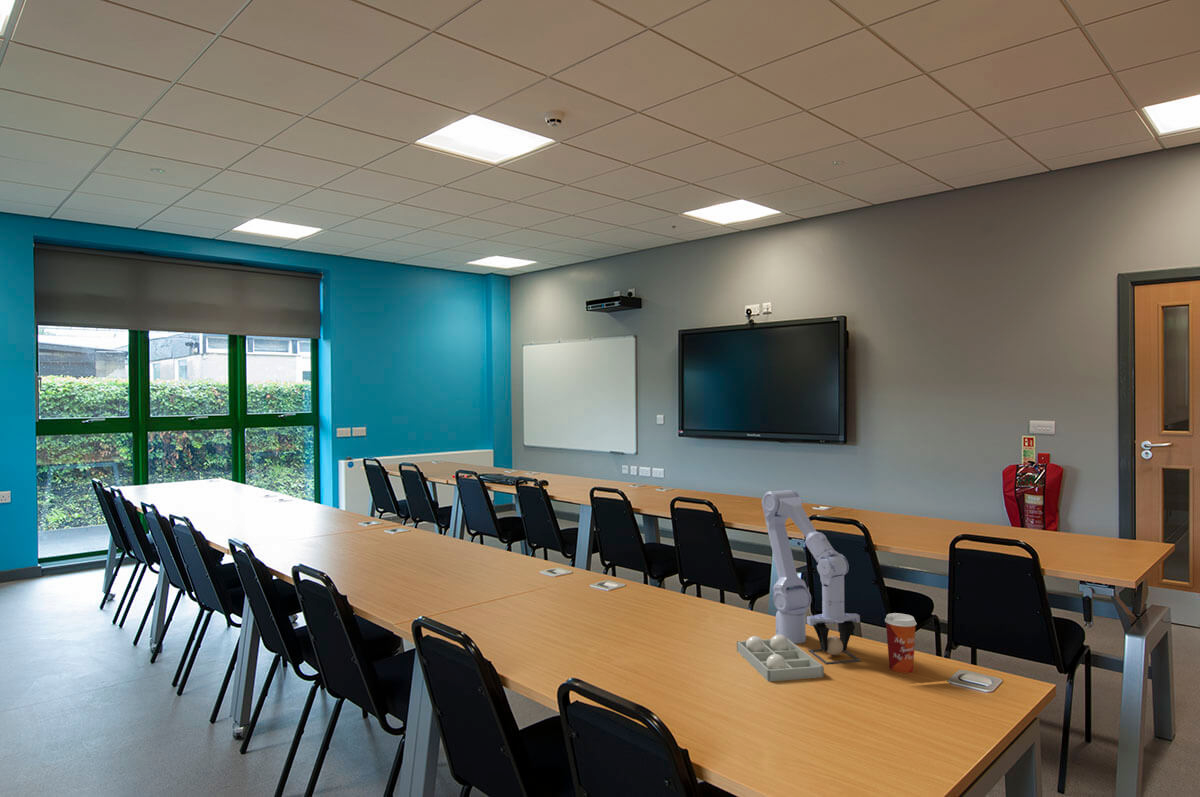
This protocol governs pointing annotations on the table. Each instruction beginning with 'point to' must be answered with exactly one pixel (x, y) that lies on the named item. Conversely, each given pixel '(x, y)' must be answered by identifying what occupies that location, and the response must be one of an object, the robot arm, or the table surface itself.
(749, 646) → the white egg
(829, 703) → the table surface
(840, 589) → the robot arm
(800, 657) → the tray
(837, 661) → the coaster
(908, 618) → the paper cup
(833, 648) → the beige ball
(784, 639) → the white egg
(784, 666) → the white egg
